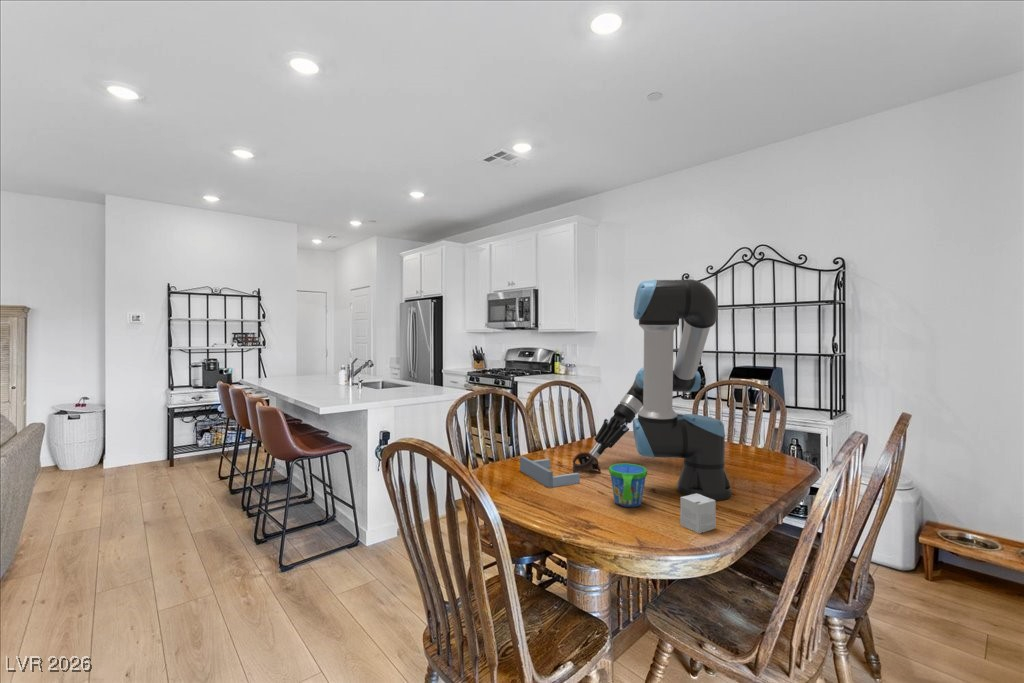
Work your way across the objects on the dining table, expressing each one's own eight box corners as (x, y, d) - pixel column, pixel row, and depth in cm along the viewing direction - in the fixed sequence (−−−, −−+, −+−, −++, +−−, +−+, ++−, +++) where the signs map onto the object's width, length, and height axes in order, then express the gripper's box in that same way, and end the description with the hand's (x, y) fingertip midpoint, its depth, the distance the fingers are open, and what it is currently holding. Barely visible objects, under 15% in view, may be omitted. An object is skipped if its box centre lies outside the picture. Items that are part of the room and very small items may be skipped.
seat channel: (548, 466, 175) (548, 453, 174) (579, 483, 155) (579, 467, 155) (520, 470, 170) (519, 456, 170) (548, 487, 151) (548, 472, 151)
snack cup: (644, 515, 127) (644, 477, 127) (604, 510, 131) (604, 473, 131) (649, 496, 142) (649, 462, 142) (613, 492, 146) (613, 459, 146)
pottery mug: (607, 476, 164) (599, 458, 161) (583, 489, 163) (574, 471, 160) (593, 459, 175) (585, 441, 172) (570, 471, 174) (562, 454, 171)
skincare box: (696, 520, 124) (696, 492, 124) (716, 529, 118) (716, 499, 118) (679, 525, 121) (679, 496, 121) (699, 534, 115) (699, 504, 115)
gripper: (645, 418, 173) (608, 471, 167) (622, 412, 186) (586, 461, 180) (633, 405, 171) (595, 458, 165) (610, 400, 183) (574, 449, 177)
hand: (590, 459), depth 172 cm, fingers closed
